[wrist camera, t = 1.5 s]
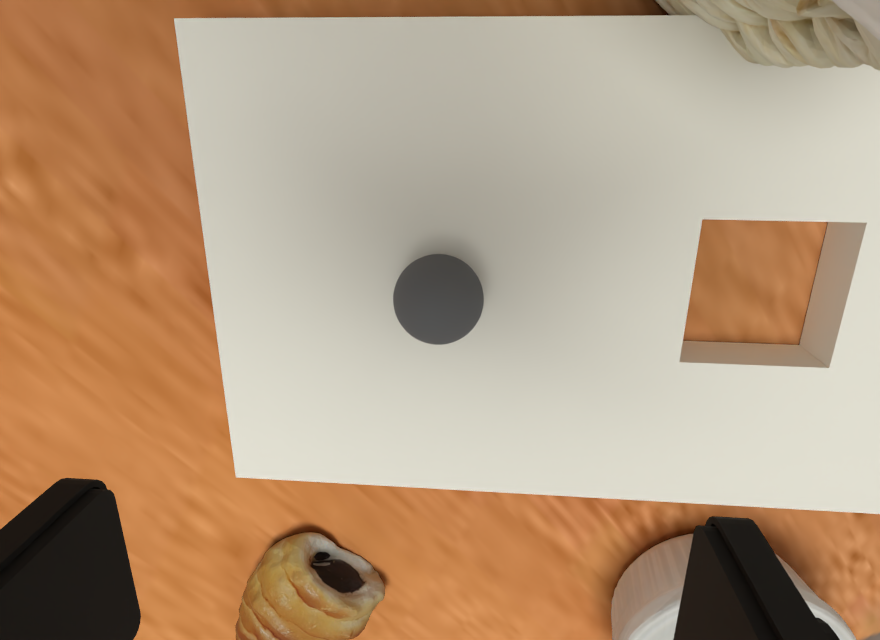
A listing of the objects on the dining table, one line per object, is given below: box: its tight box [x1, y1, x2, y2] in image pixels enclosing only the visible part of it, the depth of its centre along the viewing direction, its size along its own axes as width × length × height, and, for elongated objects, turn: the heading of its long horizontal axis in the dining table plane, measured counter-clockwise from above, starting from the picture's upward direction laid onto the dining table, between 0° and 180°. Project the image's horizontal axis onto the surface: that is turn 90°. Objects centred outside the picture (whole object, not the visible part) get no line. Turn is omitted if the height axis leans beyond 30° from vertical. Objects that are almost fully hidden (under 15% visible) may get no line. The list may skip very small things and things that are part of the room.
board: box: [174, 15, 880, 514], centre depth 25 cm, size 32×20×2 cm, turn 90°
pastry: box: [236, 532, 385, 640], centre depth 32 cm, size 9×7×4 cm
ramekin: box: [611, 534, 856, 640], centre depth 29 cm, size 11×11×5 cm
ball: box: [393, 254, 484, 345], centre depth 22 cm, size 4×4×4 cm
